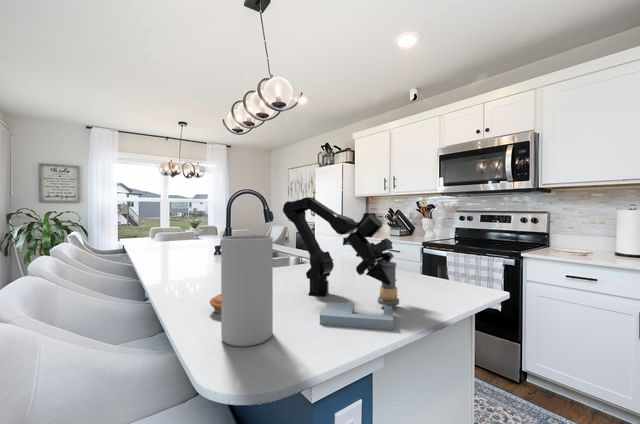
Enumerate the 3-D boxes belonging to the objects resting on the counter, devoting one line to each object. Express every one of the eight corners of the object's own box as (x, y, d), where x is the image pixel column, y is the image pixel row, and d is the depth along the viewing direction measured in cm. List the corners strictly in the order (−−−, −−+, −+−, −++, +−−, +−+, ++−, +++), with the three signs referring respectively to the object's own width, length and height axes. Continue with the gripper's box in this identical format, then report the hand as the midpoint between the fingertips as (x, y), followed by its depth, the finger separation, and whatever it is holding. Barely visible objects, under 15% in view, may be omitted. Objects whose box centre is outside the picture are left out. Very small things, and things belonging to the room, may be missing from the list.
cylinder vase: (224, 352, 67) (223, 240, 67) (219, 331, 78) (219, 236, 78) (278, 342, 72) (278, 238, 72) (266, 324, 83) (266, 234, 83)
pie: (198, 315, 91) (198, 298, 91) (230, 300, 106) (230, 286, 106) (240, 322, 85) (240, 304, 85) (268, 306, 100) (268, 291, 100)
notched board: (319, 323, 84) (319, 315, 84) (327, 310, 95) (327, 302, 95) (393, 329, 79) (393, 320, 79) (392, 314, 91) (392, 306, 91)
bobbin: (377, 304, 95) (377, 264, 95) (378, 298, 102) (378, 260, 102) (399, 306, 94) (399, 265, 94) (398, 300, 101) (398, 261, 101)
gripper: (365, 232, 93) (399, 272, 86) (388, 229, 108) (419, 263, 102) (343, 255, 97) (374, 295, 91) (368, 249, 112) (396, 283, 106)
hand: (392, 282), depth 97 cm, fingers closed on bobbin, 4 cm apart
